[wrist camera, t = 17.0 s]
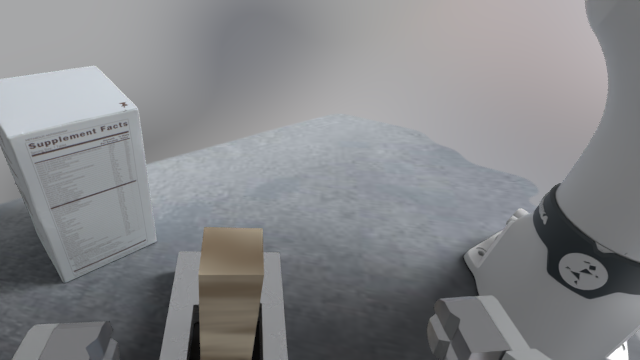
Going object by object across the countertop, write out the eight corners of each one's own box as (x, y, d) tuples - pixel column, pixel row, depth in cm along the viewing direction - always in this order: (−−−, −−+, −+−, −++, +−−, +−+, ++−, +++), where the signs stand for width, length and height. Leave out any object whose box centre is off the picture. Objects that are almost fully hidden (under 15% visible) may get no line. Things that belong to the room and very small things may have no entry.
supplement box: (123, 195, 46) (99, 62, 36) (159, 242, 42) (144, 106, 32) (30, 227, 40) (-31, 79, 30) (61, 286, 36) (2, 136, 26)
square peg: (205, 332, 35) (204, 227, 26) (249, 331, 36) (262, 228, 27) (200, 377, 32) (198, 274, 23) (249, 374, 33) (264, 274, 24)
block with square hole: (180, 270, 39) (179, 251, 38) (276, 270, 42) (279, 252, 40) (143, 486, 26) (138, 473, 24) (289, 469, 28) (295, 456, 26)
